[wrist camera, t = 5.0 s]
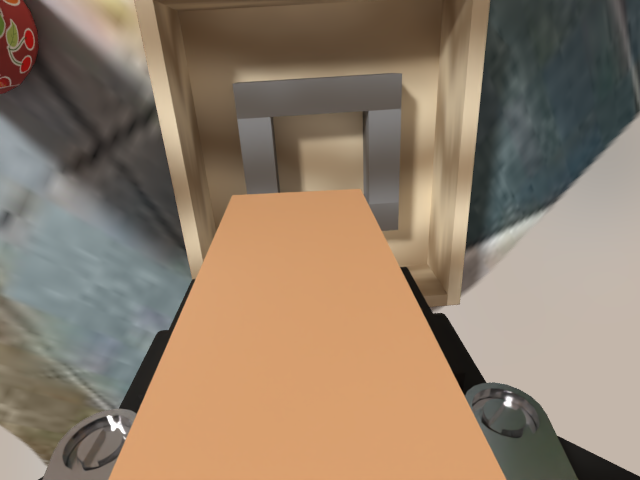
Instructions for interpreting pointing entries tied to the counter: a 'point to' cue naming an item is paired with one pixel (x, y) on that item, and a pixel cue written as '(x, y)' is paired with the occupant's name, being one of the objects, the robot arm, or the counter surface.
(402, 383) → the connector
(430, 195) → the walled tray
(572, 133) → the counter surface
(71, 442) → the robot arm
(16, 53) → the smoothie
